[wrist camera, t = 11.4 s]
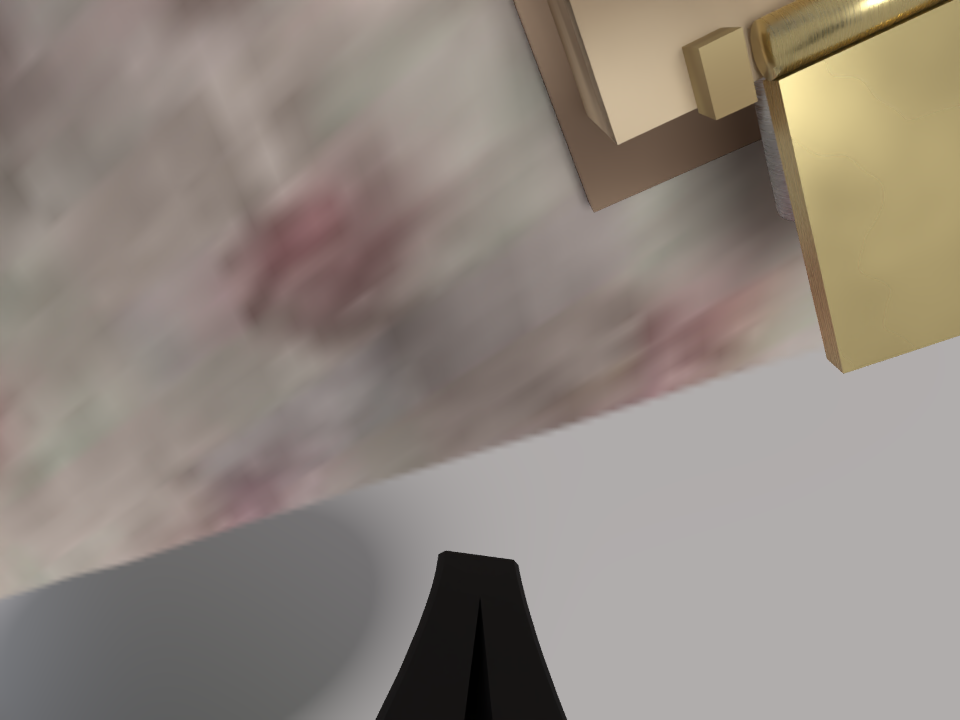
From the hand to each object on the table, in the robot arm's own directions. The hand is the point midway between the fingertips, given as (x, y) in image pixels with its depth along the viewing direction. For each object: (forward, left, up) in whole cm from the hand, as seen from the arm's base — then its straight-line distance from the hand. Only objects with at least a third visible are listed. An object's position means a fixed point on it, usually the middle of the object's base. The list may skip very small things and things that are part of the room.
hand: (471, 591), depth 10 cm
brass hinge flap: (+1, +10, -5) cm, 12 cm away
